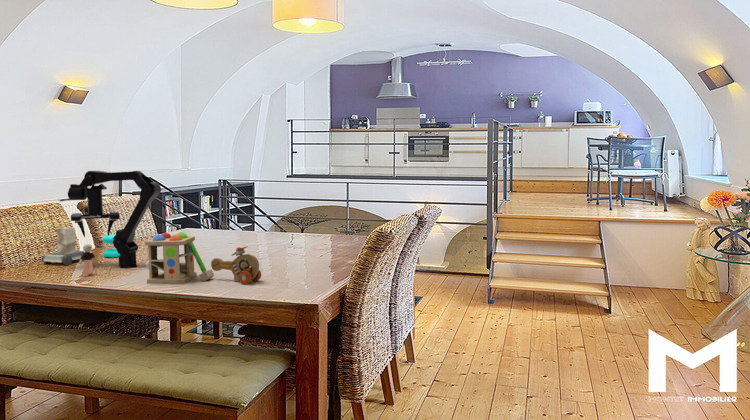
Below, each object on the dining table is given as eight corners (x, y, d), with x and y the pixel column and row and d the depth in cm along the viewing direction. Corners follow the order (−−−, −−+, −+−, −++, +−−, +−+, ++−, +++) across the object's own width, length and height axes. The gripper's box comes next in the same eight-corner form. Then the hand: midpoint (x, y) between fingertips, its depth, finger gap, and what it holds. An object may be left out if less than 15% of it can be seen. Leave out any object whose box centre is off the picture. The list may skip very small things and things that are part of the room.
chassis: (70, 258, 275) (70, 249, 275) (93, 260, 271) (92, 250, 270) (41, 264, 260) (40, 254, 260) (64, 266, 256) (63, 255, 255)
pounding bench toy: (218, 276, 233) (217, 230, 231) (207, 283, 219) (205, 235, 217) (160, 276, 233) (159, 231, 232) (146, 283, 219) (144, 235, 218)
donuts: (117, 233, 287) (129, 235, 282) (117, 254, 288) (130, 255, 282) (97, 236, 279) (110, 237, 273) (98, 257, 280) (111, 258, 274)
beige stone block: (75, 256, 267) (74, 227, 265) (66, 257, 262) (65, 228, 261) (67, 255, 268) (65, 227, 267) (58, 257, 263) (56, 228, 262)
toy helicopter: (251, 285, 215) (250, 248, 213) (205, 281, 223) (204, 245, 221) (264, 281, 222) (263, 245, 221) (219, 277, 230) (218, 242, 229)
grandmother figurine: (86, 277, 231) (85, 245, 230) (78, 276, 232) (76, 244, 231) (99, 273, 239) (98, 242, 237) (91, 273, 239) (89, 242, 238)
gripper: (118, 198, 263) (119, 233, 265) (71, 199, 256) (73, 235, 257) (118, 199, 253) (120, 236, 255) (70, 201, 245) (71, 238, 247)
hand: (96, 236), depth 254 cm, fingers open, 9 cm apart
